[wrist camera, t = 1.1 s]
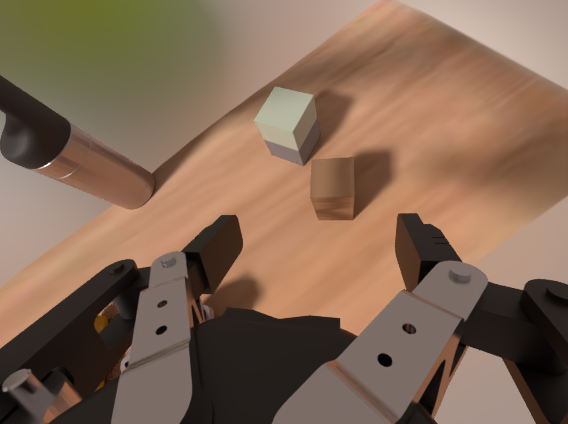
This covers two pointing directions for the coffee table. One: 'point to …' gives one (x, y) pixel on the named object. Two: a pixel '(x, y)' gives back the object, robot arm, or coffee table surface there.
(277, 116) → the tower top
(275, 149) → the tower base
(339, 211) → the walnut block
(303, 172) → the coffee table surface
